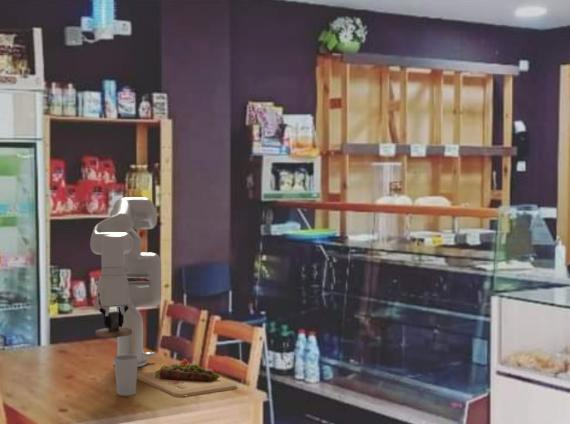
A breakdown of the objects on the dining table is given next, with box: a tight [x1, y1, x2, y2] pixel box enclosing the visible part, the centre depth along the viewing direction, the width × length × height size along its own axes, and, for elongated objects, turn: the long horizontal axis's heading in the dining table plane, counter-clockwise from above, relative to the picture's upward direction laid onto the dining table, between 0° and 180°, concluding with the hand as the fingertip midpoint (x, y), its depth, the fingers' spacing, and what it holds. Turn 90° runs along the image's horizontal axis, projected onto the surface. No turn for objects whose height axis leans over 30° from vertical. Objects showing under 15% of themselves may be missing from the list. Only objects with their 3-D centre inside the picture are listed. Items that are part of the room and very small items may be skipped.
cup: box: [113, 355, 139, 396], centre depth 306 cm, size 8×8×12 cm
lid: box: [94, 311, 132, 338], centre depth 306 cm, size 12×12×7 cm
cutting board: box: [137, 358, 237, 397], centre depth 321 cm, size 35×23×8 cm
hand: (113, 326), depth 306 cm, fingers closed on lid, 3 cm apart
